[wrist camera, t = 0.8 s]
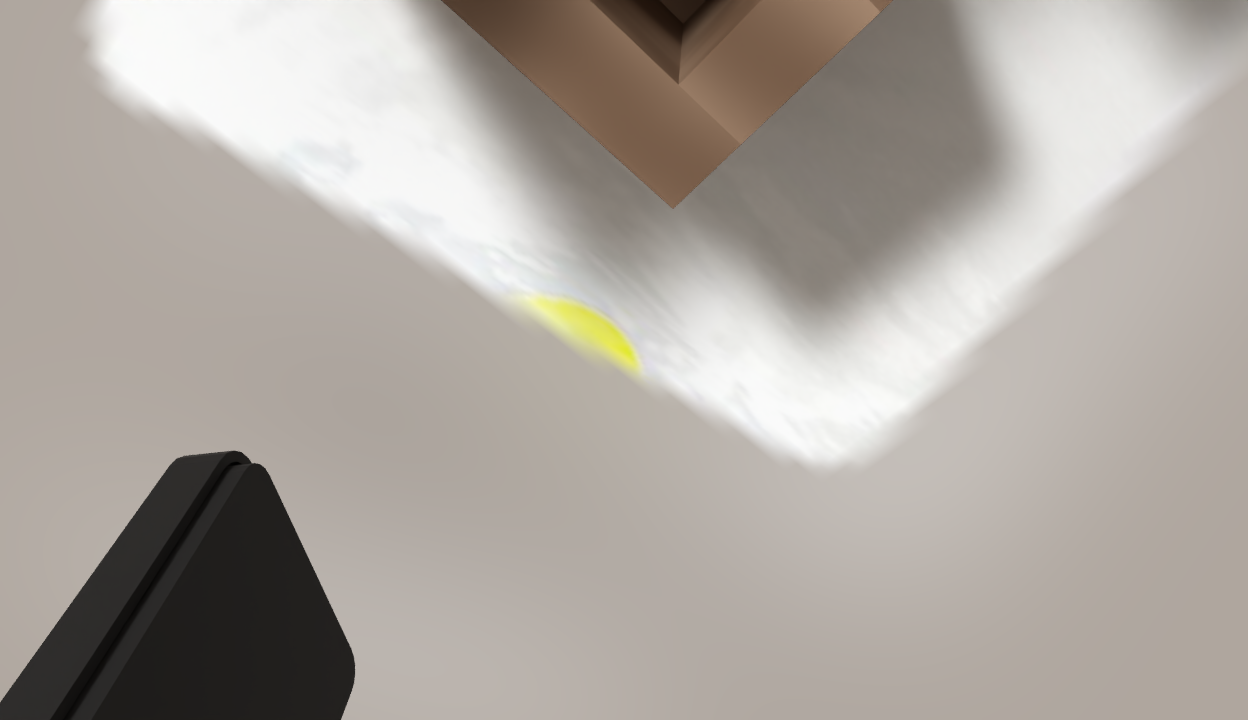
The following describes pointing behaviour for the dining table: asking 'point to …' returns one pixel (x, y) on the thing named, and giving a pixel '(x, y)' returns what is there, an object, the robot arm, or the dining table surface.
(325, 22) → the dining table surface
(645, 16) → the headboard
